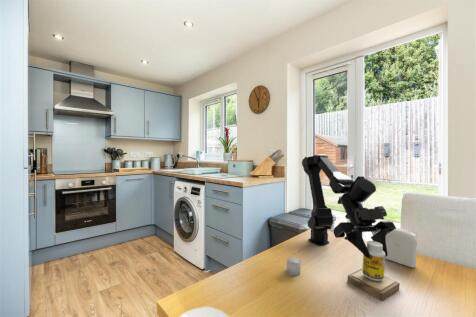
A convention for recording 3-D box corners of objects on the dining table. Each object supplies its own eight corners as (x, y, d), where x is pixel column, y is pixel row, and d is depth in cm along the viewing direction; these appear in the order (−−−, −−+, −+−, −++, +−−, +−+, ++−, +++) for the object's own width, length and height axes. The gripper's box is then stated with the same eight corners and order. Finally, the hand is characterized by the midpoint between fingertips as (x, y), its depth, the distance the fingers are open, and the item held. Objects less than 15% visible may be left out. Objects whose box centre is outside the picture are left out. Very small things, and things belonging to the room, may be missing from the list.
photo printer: (380, 257, 85) (382, 226, 84) (384, 254, 88) (386, 223, 87) (413, 269, 77) (416, 234, 76) (417, 265, 80) (419, 232, 79)
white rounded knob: (283, 272, 73) (284, 260, 73) (290, 267, 76) (291, 256, 76) (296, 278, 70) (296, 265, 70) (302, 272, 73) (303, 260, 73)
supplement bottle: (359, 275, 67) (361, 242, 67) (366, 269, 71) (368, 237, 70) (380, 284, 63) (382, 249, 63) (386, 277, 67) (388, 244, 66)
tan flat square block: (347, 281, 69) (347, 274, 68) (364, 272, 74) (365, 266, 74) (382, 300, 60) (382, 292, 60) (399, 289, 65) (399, 281, 65)
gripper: (340, 197, 68) (365, 248, 58) (393, 196, 71) (424, 245, 61) (325, 214, 76) (343, 262, 66) (372, 213, 79) (397, 258, 69)
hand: (377, 256), depth 65 cm, fingers closed on supplement bottle, 5 cm apart
